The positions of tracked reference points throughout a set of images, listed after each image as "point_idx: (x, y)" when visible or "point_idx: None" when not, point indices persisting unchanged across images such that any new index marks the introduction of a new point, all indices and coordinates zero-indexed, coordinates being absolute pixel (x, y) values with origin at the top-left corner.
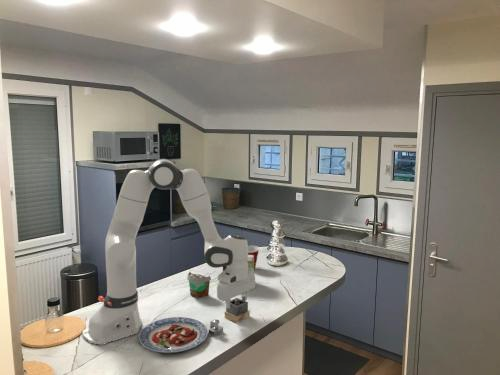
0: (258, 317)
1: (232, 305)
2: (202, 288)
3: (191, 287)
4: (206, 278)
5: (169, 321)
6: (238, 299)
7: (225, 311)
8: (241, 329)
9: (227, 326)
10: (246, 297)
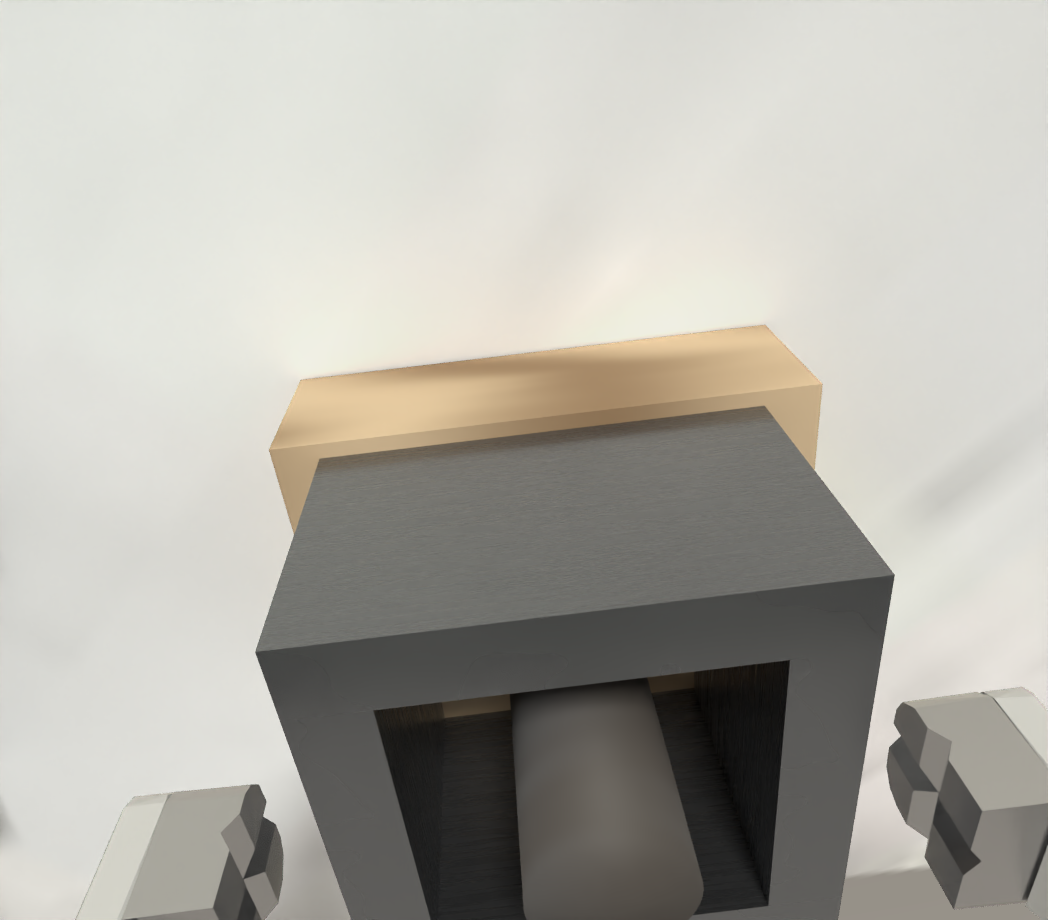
0: None
1: (335, 864)
2: None
3: None
4: None
5: None
6: (686, 887)
7: (303, 447)
8: (313, 836)
9: (152, 674)
10: (1025, 874)
